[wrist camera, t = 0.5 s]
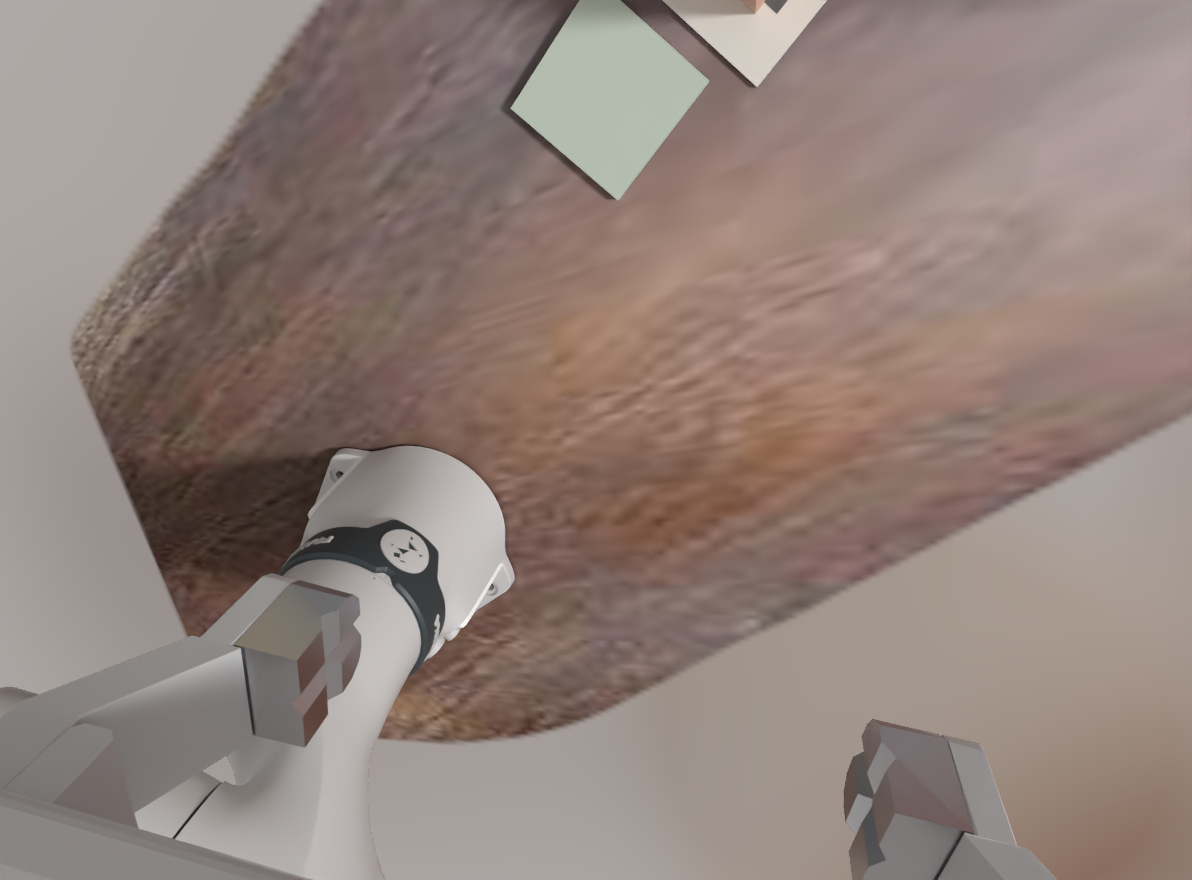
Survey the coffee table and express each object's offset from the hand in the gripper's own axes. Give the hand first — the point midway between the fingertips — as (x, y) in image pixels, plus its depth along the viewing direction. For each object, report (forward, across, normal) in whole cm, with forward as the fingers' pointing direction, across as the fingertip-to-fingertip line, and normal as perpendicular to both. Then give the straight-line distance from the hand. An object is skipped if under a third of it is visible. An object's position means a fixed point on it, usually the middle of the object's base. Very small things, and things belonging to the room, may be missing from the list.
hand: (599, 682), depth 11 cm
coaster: (+42, -8, +7) cm, 43 cm away
